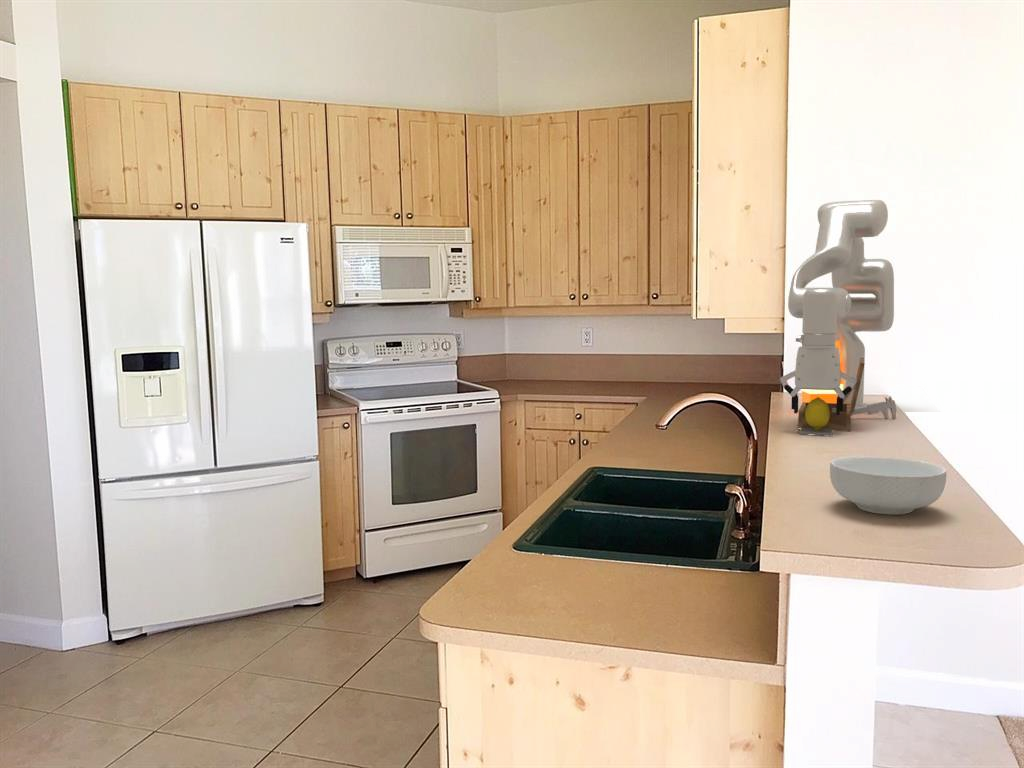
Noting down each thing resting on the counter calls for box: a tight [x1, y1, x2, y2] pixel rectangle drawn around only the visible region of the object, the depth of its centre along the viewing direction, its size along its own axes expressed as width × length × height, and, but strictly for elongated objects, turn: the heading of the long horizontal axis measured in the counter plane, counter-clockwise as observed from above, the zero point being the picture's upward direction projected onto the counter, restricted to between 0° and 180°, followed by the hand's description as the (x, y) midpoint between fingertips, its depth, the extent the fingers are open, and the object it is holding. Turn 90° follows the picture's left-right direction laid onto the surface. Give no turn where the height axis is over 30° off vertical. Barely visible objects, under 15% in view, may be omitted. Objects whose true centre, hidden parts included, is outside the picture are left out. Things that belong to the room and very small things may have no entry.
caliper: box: [851, 395, 897, 420], centre depth 232 cm, size 20×1×6 cm, turn 88°
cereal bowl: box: [829, 455, 947, 516], centre depth 138 cm, size 17×17×7 cm
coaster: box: [799, 428, 833, 437], centre depth 211 cm, size 7×7×1 cm
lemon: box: [805, 397, 830, 430], centre depth 210 cm, size 6×6×8 cm
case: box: [797, 358, 866, 432], centre depth 222 cm, size 18×15×17 cm
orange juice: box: [801, 341, 844, 403], centre depth 242 cm, size 8×9×20 cm
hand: (816, 413), depth 210 cm, fingers open, 9 cm apart
